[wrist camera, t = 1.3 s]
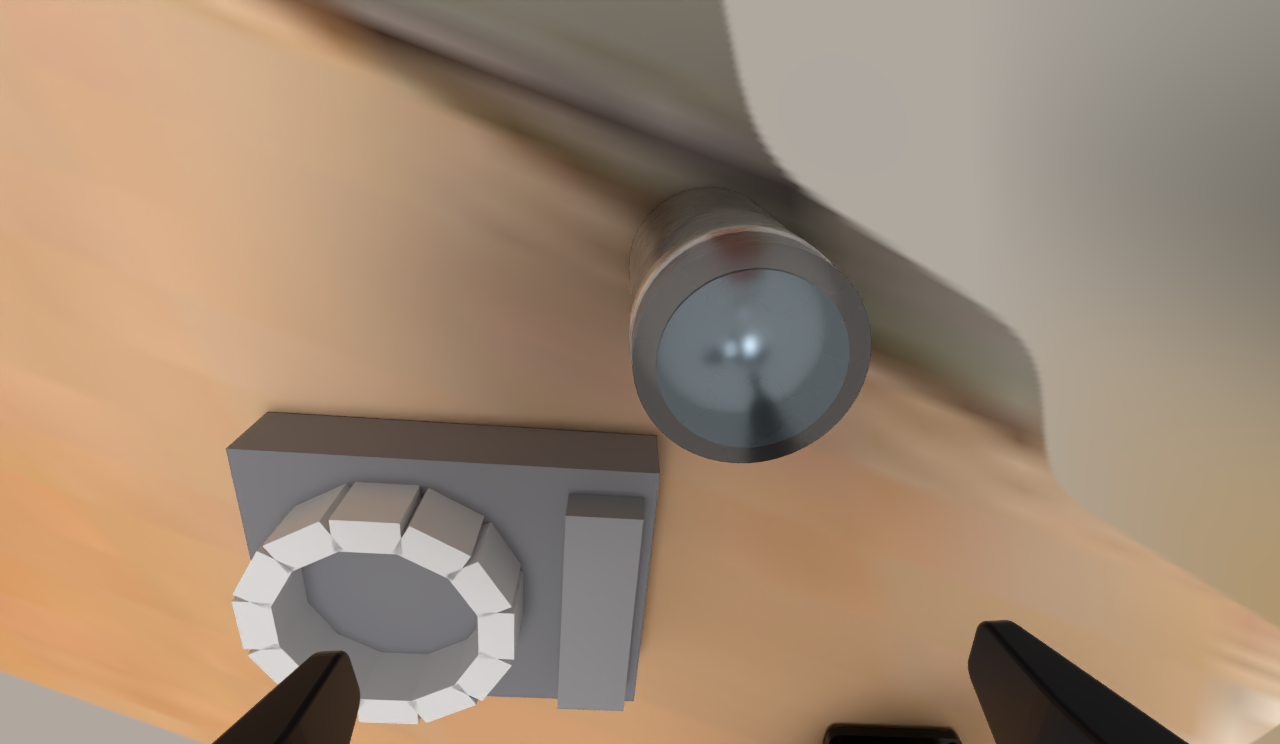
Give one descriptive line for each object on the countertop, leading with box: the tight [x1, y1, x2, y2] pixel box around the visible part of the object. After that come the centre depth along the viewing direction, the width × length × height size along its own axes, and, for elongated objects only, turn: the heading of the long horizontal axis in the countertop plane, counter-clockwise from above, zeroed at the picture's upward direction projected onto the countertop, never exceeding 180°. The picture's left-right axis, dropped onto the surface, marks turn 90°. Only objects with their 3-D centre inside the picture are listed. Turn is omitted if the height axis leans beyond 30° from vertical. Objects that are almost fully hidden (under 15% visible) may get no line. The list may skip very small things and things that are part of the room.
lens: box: [629, 187, 871, 463], centre depth 16 cm, size 5×5×8 cm
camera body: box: [226, 412, 660, 724], centre depth 22 cm, size 14×11×4 cm
